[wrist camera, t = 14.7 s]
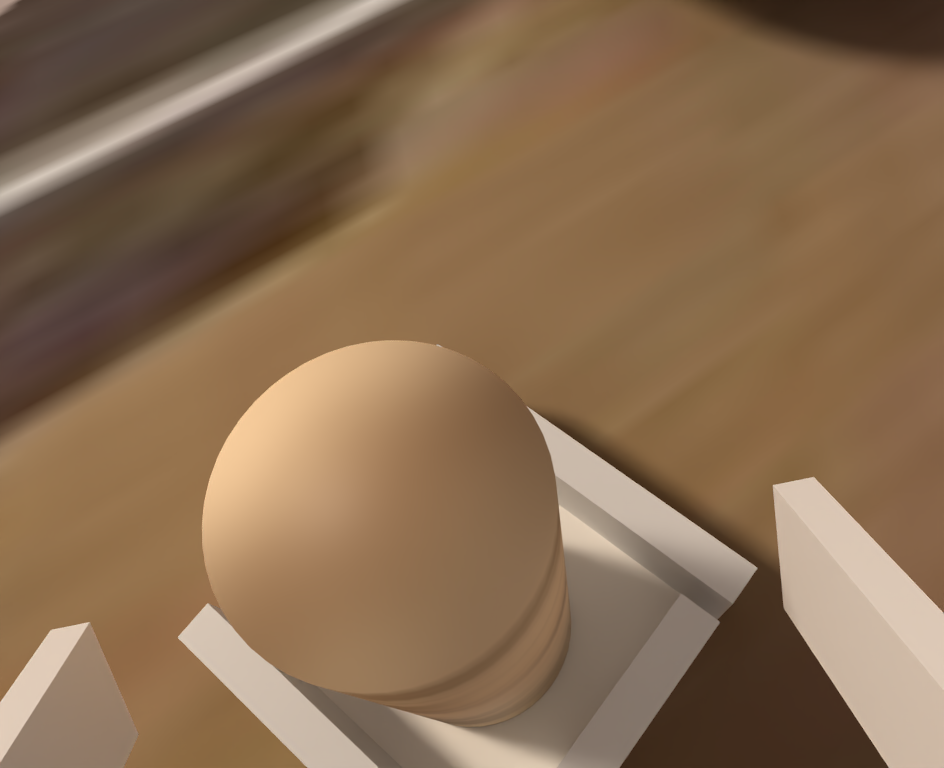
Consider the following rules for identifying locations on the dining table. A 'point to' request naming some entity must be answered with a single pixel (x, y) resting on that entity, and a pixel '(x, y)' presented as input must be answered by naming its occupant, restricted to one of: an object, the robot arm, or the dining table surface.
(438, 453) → the oak rail post
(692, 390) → the dining table surface
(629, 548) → the square tray
